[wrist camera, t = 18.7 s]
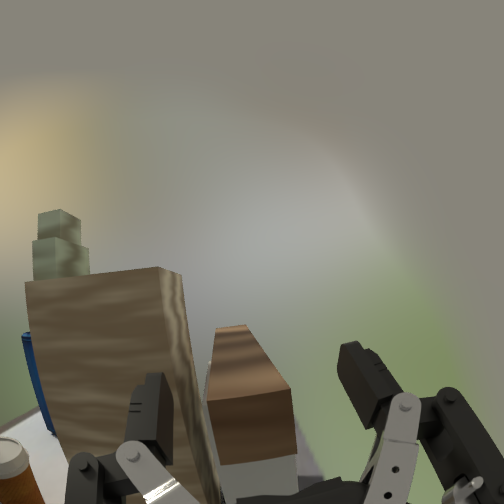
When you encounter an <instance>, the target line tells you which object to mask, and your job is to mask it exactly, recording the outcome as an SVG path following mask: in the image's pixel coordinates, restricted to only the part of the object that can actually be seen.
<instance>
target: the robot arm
mask: <svg viewBox="0 0 504 504" xmlns="http://www.w3.org/2000/svg"><path fill="white" fill-rule="evenodd" d="M337 373H338V377H339V379H340V381H341V383H342V385H343V387H344V389H345V391H346V393H347V395H348V396H349V398H350V400H351V402H352V404H353V406H354V408H355V410H356V412H357V414H358V416H359V418H360V420H361V422H362V423H363V425H364V427H365V429H366V430H367V429H370V428H372V427H374V429H375V431H376V436H375V440H374V443H373V446H372V450H371V453H370V456H369V459H368V462H367V465H366V467H365V470H364V472H363V474H362V476H361V478H360V481H359V482H355V481H342V480H341V477H337V478H333V479H330V480H326V481H323V482H319V483H316V484H314V485H312V486H310V487H308V488H306V489H304V490H302V491H300V492H297V493H295V494H293V495H258V496H251V497H244V498H236V502H237V503H236V504H410V503H407V502H406V501H407V498H408V494H409V491H410V487H411V483H412V479H413V475H414V470H415V465H416V461H417V455H418V450H419V445H418V444H416V440H420V442H421V444H422V446H423V448H424V450H425V452H426V454H427V455H428V458H429V459H430V462H431V463H432V465H433V467H434V469H435V471H436V473H437V475H438V478H439V480H440V482H441V484H442V486H443V488H444V490H445V493H444V495H443V497H442V504H504V458H503V456H502V455H501V453H500V452H499V450H498V448H497V447H496V445H495V443H494V442H493V440H492V439H491V437H490V435H489V434H488V432H487V431H486V429H485V428H484V426H483V425H482V423H481V422H480V420H479V419H478V417H477V416H476V414H475V413H474V411H473V410H472V408H471V407H470V406H469V404H468V403H467V401H466V400H465V399H464V397H463V396H462V394H461V393H460V392H459V391H458V390H457V389H455V388H452V387H445V388H443V389H441V390H439V392H438V393H437V395H436V396H434V397H426V398H418V397H417V396H416V395H413V394H412V393H407V392H403V390H402V389H401V387H400V386H399V385H398V383H397V382H396V380H395V379H394V377H393V376H392V375H391V373H390V372H389V370H387V367H386V366H385V364H384V363H383V362H382V360H381V359H380V357H379V356H378V354H376V353H374V352H373V351H372V350H370V349H369V348H368V349H365V350H364V349H363V348H362V346H361V344H360V343H359V342H358V341H353V342H349V343H345V344H342V345H341V347H340V353H339V359H338V364H337ZM128 411H129V413H128V417H127V423H126V430H125V437H124V442H123V444H121V445H120V446H119V448H118V449H117V451H115V452H113V453H111V454H107V455H103V456H98V457H95V456H94V455H93V454H91V453H88V452H80V453H77V454H75V455H74V456H73V457H72V458H71V460H70V462H69V468H68V476H67V484H66V493H65V504H126V496H127V495H131V494H136V493H141V494H142V495H143V497H144V498H145V501H146V502H147V504H200V503H199V502H198V501H197V500H196V499H195V498H194V497H193V496H192V495H191V494H190V493H189V492H188V491H187V490H186V489H185V488H184V487H183V486H182V485H181V484H180V483H179V482H178V481H177V480H175V479H174V478H173V477H172V476H171V474H170V473H169V472H168V471H167V470H166V466H171V465H173V421H174V400H173V395H172V392H171V390H170V387H169V385H168V382H167V379H166V377H165V374H164V373H163V372H157V373H147V374H146V378H145V384H144V385H137V386H136V387H135V389H134V390H133V392H132V393H131V399H130V405H129V410H128Z"/></svg>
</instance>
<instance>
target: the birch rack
mask: <svg viewBox="0 0 504 504" xmlns="http://www.w3.org/2000/svg"><path fill="white" fill-rule="evenodd" d="M32 243H33V244H32V249H33V277H34V281H30V282H25V293H26V304H27V313H28V320H29V328H30V334H31V340H32V346H33V351H34V356H35V361H36V366H37V370H38V374H39V379H40V383H41V386H42V390H43V394H44V397H45V401H46V404H47V408H48V411H49V414H50V417H51V420H52V423H53V426H54V429H55V432H56V434H57V437H58V440H59V442H60V445H61V447H62V450H63V452H64V455H65V457H66V459H67V462H68V464H69V462H70V460H71V458H72V457H73V456H74V455H75V454H77V453H80V452H88V453H91V454H93V455H94V456H95V457H98V456H103V455H107V454H111V453H113V452H115V451H117V449H118V448H119V446H120V445H121V444H123V442H124V437H125V430H126V423H127V417H128V413H129V411H128V410H129V405H130V399H131V393H132V392H133V390H134V389H135V387H136V386H137V385H144V384H145V378H146V374H147V373H157V372H163V373H164V374H165V377H166V379H167V382H168V385H169V387H170V390H171V392H172V395H173V400H174V421H173V465H171V466H166V470H167V471H168V472H169V473H170V474H171V476H172V477H173V478H174V479H175V480H177V481H178V482H179V483H180V484H181V485H182V486H183V487H184V488H185V489H186V490H187V491H188V492H189V493H190V494H191V495H192V496H193V497H194V498H195V499H196V500H197V501H198V502H199V503H200V504H221V497H220V481H219V477H218V473H217V469H216V466H215V462H214V457H213V453H212V449H211V445H210V441H209V436H208V432H207V427H206V423H205V418H204V413H203V409H202V404H201V399H200V394H199V389H198V383H197V378H196V372H195V366H194V361H193V355H192V348H191V343H190V337H189V329H188V323H187V315H186V309H185V301H184V293H183V285H182V276H181V275H180V274H178V273H175V272H172V271H169V270H166V269H163V268H161V267H151V268H142V269H134V270H125V271H117V272H109V273H99V274H91V275H90V266H89V249H88V248H86V247H83V246H81V220H80V219H78V218H76V217H74V216H72V215H70V214H68V213H67V212H65V211H63V210H61V209H58V210H53V211H49V212H45V213H41V214H38V240H36V241H33V242H32ZM126 504H147V502H146V501H145V498H144V497H143V495H142V494H141V493H136V494H131V495H127V496H126Z"/></svg>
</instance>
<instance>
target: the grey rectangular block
mask: <svg viewBox="0 0 504 504" xmlns="http://www.w3.org/2000/svg"><path fill="white" fill-rule="evenodd" d="M210 368H211V361H209V364H208V371H207V376H206V383H205V389H204V395H203V401H202V409H203V413H204V418H205V423H206V427H207V432H208V436H209V441H210V445H211V449H212V453H213V457H214V462H215V466H216V469H217V473H218V477H219V481H220V485H221V488H222V492H223V495H224V499H225V502H226V504H236V503H237V502H236V498H244V497H251V496H258V495H293V494H295V493H297V492H299V488H298V477H297V467H296V457H295V454H293V455H288V456H283V457H278V458H273V459H267V460H261V461H255V462H248V463H240V464H232V465H223V466H221V465H220V461H219V457H218V453H217V448H216V444H215V440H214V435H213V431H212V426H211V421H210V416H209V411H208V406H207V401H206V400H207V392H208V384H209V376H210Z"/></svg>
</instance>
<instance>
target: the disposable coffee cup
mask: <svg viewBox="0 0 504 504" xmlns="http://www.w3.org/2000/svg"><path fill="white" fill-rule="evenodd" d="M0 502H1V503H2V504H45V502H44V500H43V498H42V495H41V493H40V490H39V488H38V486H37V483H36V481H35V478H34V475H33V472H32V470H31V467H30V464H29V454H28V452H27V450H26V449H25V448H23V446H22V445H21V443H20V442H19V441H17V440H15V439H13V438H9V437H0Z"/></svg>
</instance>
